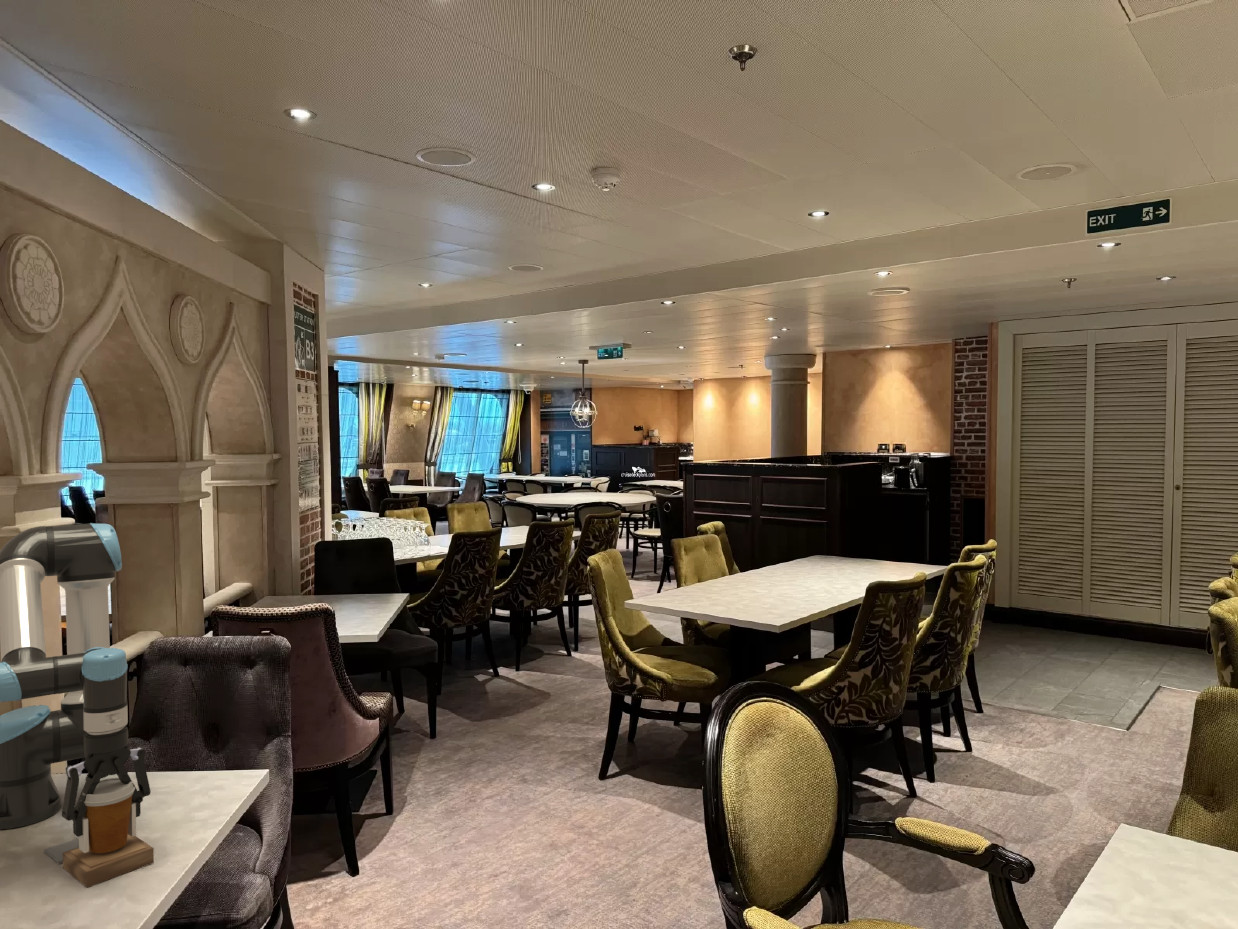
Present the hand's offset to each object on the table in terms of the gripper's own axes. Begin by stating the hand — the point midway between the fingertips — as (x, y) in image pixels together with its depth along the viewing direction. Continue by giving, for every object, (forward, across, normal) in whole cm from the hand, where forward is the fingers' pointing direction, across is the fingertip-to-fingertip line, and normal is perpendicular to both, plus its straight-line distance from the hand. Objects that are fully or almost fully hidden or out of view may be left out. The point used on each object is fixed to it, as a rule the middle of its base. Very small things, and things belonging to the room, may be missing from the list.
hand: (108, 842), depth 169 cm
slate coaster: (+5, -2, +12) cm, 13 cm away
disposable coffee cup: (+1, 0, 0) cm, 1 cm away
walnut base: (+5, 0, 0) cm, 5 cm away
